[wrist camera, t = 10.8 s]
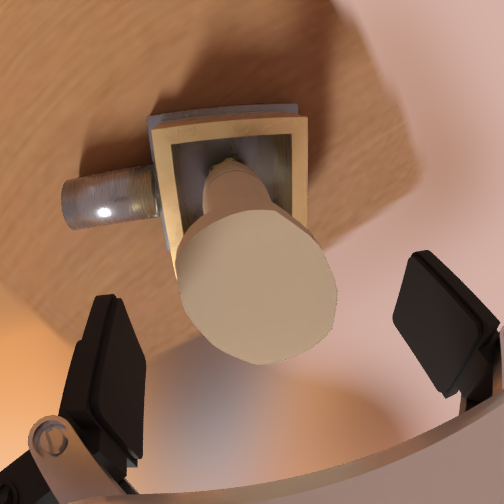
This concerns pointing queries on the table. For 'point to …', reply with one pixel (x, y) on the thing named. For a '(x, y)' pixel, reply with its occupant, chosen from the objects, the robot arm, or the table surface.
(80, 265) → the table surface
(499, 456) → the robot arm
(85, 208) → the socket
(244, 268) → the handle
